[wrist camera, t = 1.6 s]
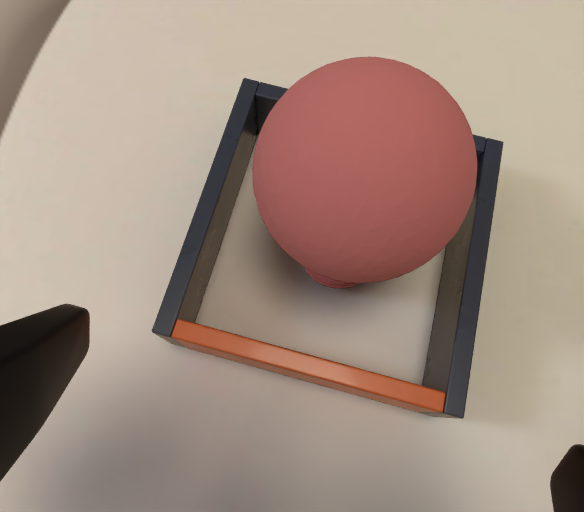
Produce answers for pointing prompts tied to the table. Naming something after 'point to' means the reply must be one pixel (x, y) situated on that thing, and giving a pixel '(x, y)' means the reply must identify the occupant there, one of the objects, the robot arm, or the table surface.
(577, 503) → the robot arm
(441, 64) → the table surface
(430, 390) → the square frame
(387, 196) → the pink screw bulb
